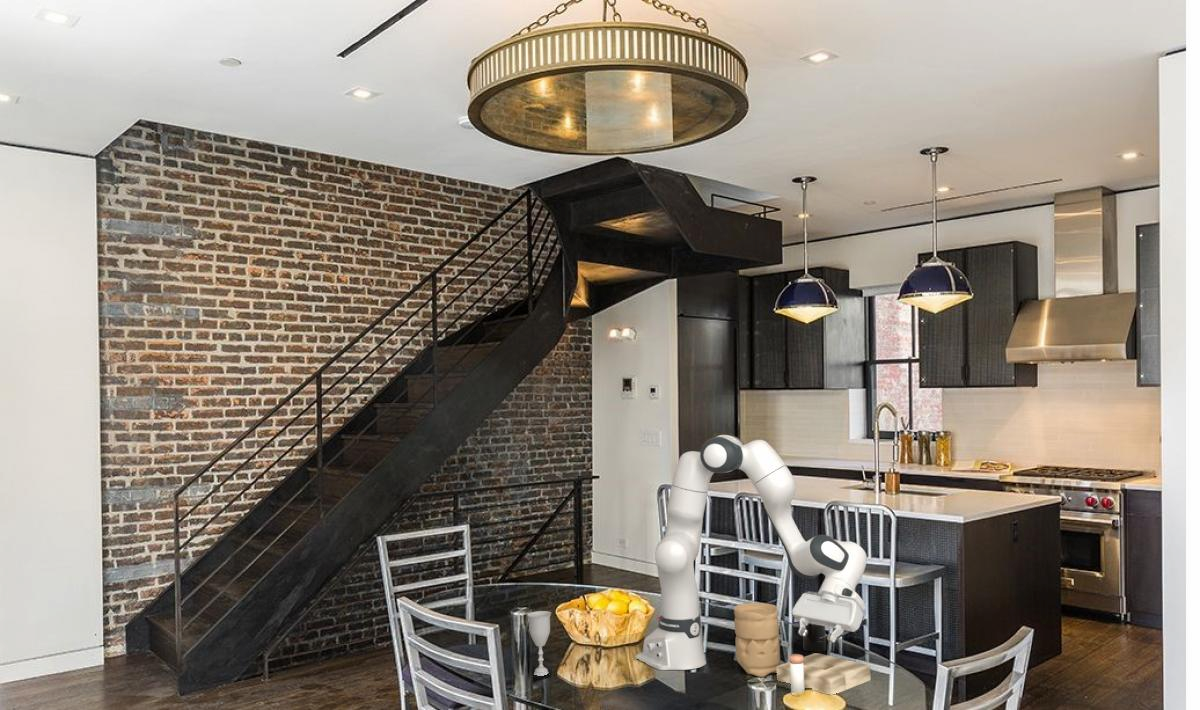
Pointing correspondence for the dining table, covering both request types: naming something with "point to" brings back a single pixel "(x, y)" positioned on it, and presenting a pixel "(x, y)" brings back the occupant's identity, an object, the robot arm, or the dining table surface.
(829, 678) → the socket block
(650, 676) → the dining table surface
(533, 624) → the chalice
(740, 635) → the container
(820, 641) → the supplement bottle
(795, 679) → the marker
